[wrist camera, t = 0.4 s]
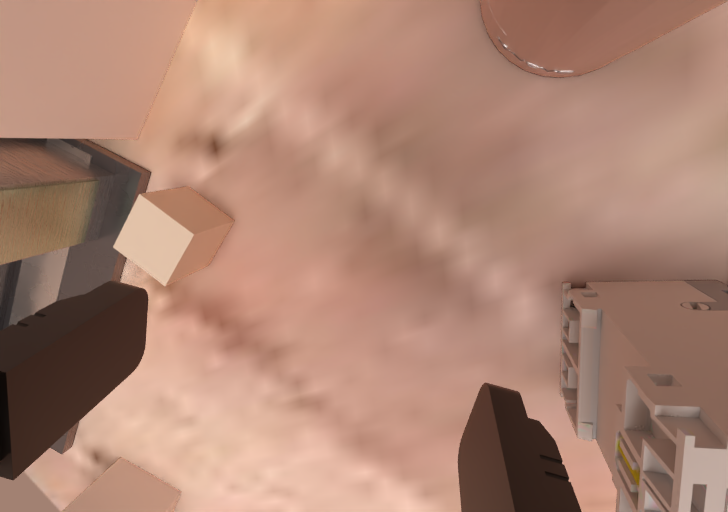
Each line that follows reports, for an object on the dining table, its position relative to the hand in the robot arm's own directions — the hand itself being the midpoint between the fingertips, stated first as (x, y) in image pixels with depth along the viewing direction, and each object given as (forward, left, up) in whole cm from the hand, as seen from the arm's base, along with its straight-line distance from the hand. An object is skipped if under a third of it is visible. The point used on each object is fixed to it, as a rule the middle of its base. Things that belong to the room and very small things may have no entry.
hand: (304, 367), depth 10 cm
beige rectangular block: (+6, -13, -19) cm, 24 cm away
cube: (-10, -30, -20) cm, 37 cm away
